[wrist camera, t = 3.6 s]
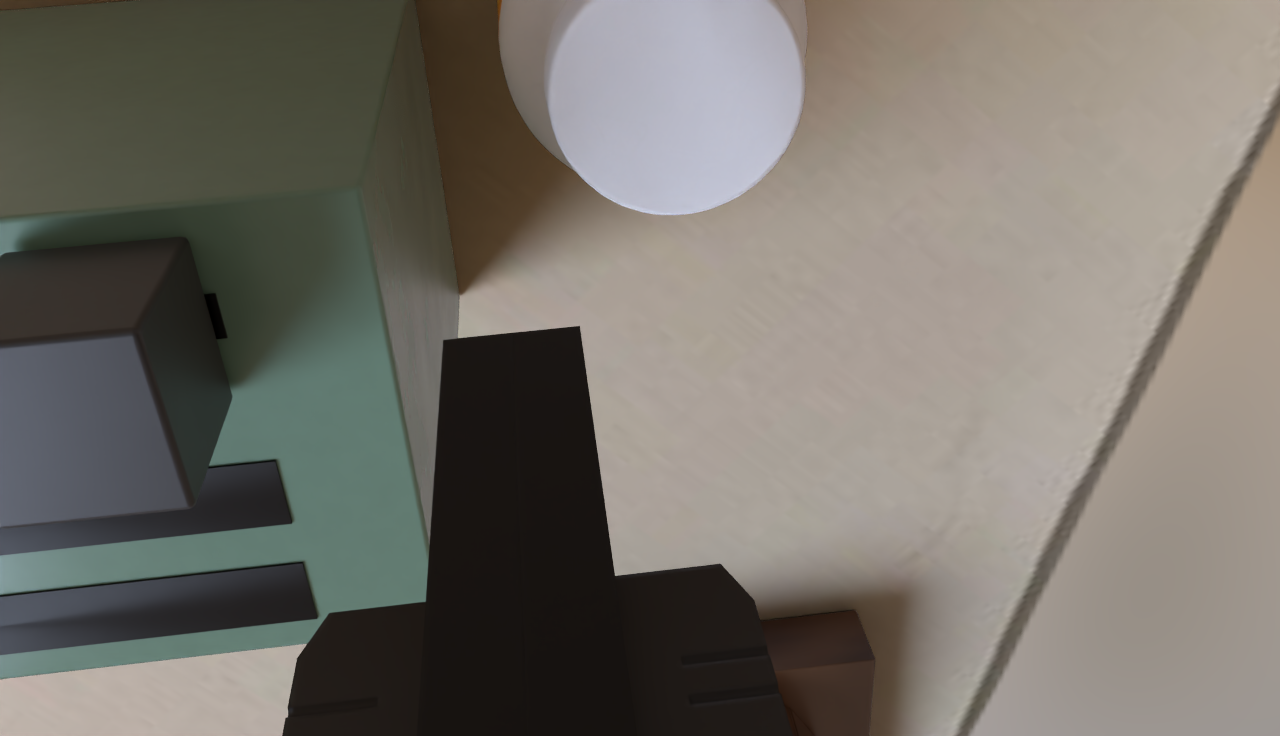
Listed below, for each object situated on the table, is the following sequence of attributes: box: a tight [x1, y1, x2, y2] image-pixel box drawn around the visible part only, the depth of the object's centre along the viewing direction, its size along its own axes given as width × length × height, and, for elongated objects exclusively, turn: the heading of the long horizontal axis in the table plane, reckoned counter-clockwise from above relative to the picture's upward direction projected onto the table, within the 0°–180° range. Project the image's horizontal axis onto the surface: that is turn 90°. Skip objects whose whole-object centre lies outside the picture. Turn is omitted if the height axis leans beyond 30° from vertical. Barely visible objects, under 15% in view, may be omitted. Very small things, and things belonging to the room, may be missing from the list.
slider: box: [0, 237, 233, 529], centre depth 15 cm, size 2×3×3 cm
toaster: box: [0, 0, 460, 679], centre depth 22 cm, size 14×8×12 cm, turn 93°
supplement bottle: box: [497, 0, 807, 215], centre depth 22 cm, size 5×5×10 cm
